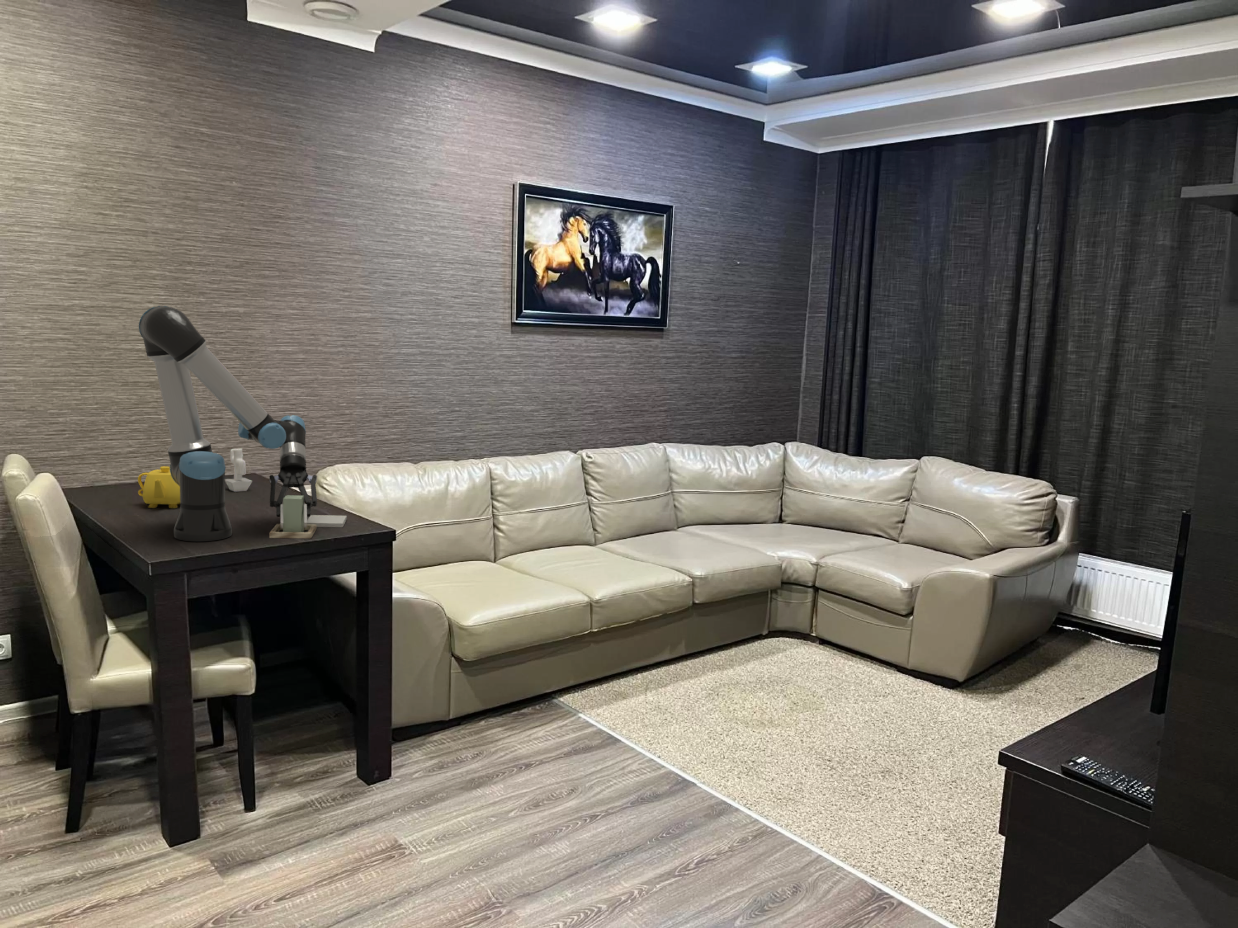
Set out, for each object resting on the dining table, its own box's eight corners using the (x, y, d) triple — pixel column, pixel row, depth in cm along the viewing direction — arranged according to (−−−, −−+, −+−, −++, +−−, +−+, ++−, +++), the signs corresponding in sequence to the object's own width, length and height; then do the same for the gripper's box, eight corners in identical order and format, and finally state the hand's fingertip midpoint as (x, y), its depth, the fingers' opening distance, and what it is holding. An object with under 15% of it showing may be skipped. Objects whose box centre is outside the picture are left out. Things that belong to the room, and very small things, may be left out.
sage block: (283, 535, 266) (283, 498, 264) (286, 531, 270) (286, 495, 269) (301, 535, 267) (301, 498, 265) (303, 531, 271) (303, 495, 270)
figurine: (233, 493, 319) (232, 451, 317) (222, 488, 326) (222, 447, 324) (253, 491, 324) (253, 450, 322) (243, 487, 331) (242, 446, 329)
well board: (269, 537, 262) (269, 532, 262) (276, 528, 273) (276, 523, 273) (310, 538, 264) (310, 533, 264) (316, 529, 275) (316, 524, 275)
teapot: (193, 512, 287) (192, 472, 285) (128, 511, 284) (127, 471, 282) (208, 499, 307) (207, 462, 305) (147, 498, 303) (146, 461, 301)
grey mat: (305, 526, 278) (305, 522, 277) (310, 518, 288) (310, 515, 288) (342, 527, 280) (342, 523, 280) (346, 519, 290) (346, 515, 290)
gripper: (324, 467, 283) (327, 531, 271) (260, 467, 277) (259, 532, 264) (325, 453, 278) (328, 517, 265) (259, 453, 271) (259, 519, 258)
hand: (293, 525), depth 265 cm, fingers closed on sage block, 6 cm apart
